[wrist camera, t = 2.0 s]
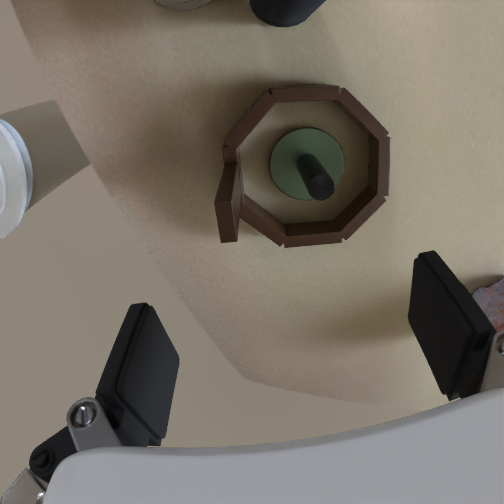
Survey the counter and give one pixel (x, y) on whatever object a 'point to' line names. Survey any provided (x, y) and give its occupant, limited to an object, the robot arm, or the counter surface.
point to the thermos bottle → (182, 4)
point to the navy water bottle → (284, 11)
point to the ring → (308, 233)
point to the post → (307, 164)
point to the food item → (492, 303)
